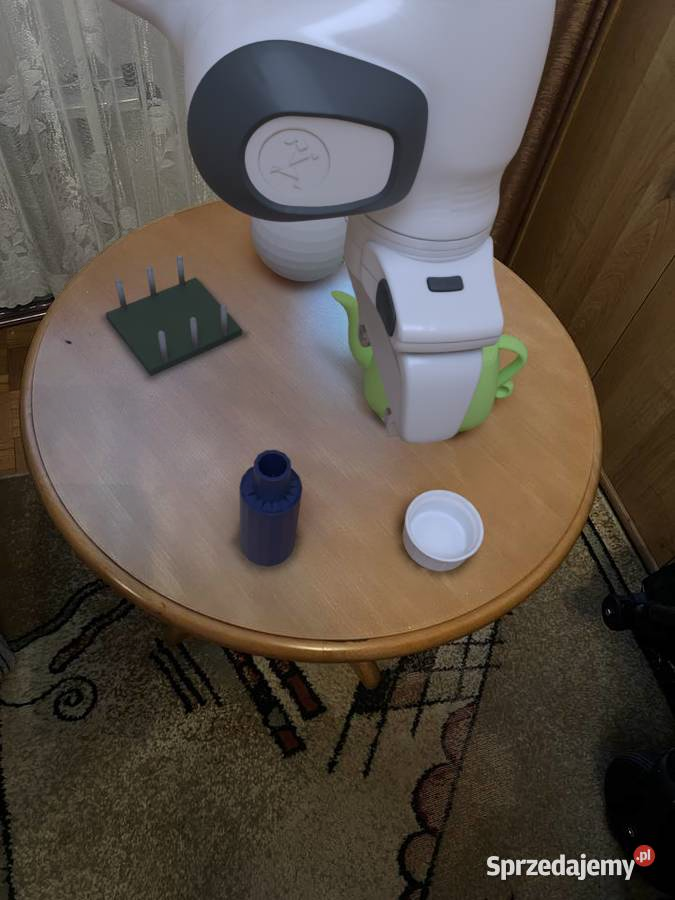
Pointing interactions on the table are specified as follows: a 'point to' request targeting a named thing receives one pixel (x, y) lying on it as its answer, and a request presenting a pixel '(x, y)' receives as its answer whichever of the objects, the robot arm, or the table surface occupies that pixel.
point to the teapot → (488, 386)
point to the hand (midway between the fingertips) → (381, 382)
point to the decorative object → (301, 246)
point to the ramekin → (441, 530)
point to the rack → (172, 322)
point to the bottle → (269, 508)
